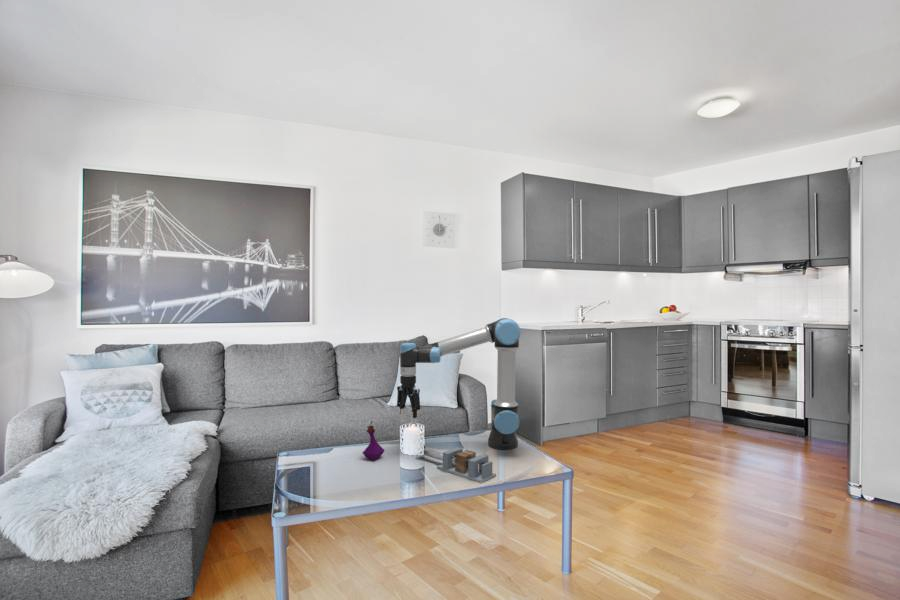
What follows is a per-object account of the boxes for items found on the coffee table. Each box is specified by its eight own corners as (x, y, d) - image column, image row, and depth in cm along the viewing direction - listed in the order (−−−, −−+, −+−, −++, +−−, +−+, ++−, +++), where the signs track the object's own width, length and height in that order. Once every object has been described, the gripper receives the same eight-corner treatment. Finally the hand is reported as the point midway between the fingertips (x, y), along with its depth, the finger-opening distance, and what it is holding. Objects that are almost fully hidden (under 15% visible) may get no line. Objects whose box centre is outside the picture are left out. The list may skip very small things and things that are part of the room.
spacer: (466, 466, 206) (466, 450, 206) (475, 468, 203) (475, 452, 203) (455, 470, 201) (455, 454, 201) (464, 473, 197) (463, 457, 197)
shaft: (423, 453, 222) (423, 444, 222) (459, 465, 207) (459, 454, 207) (416, 456, 219) (416, 446, 219) (452, 467, 204) (452, 457, 204)
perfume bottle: (362, 459, 219) (361, 421, 219) (372, 454, 225) (371, 417, 225) (375, 462, 215) (374, 423, 215) (384, 457, 222) (384, 419, 222)
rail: (452, 462, 214) (451, 445, 214) (496, 476, 197) (496, 457, 197) (436, 468, 206) (436, 450, 206) (481, 483, 190) (481, 464, 190)
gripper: (389, 374, 229) (389, 421, 230) (416, 378, 216) (416, 428, 217) (400, 372, 235) (400, 418, 235) (427, 376, 222) (428, 425, 222)
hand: (408, 423), depth 226 cm, fingers open, 6 cm apart
